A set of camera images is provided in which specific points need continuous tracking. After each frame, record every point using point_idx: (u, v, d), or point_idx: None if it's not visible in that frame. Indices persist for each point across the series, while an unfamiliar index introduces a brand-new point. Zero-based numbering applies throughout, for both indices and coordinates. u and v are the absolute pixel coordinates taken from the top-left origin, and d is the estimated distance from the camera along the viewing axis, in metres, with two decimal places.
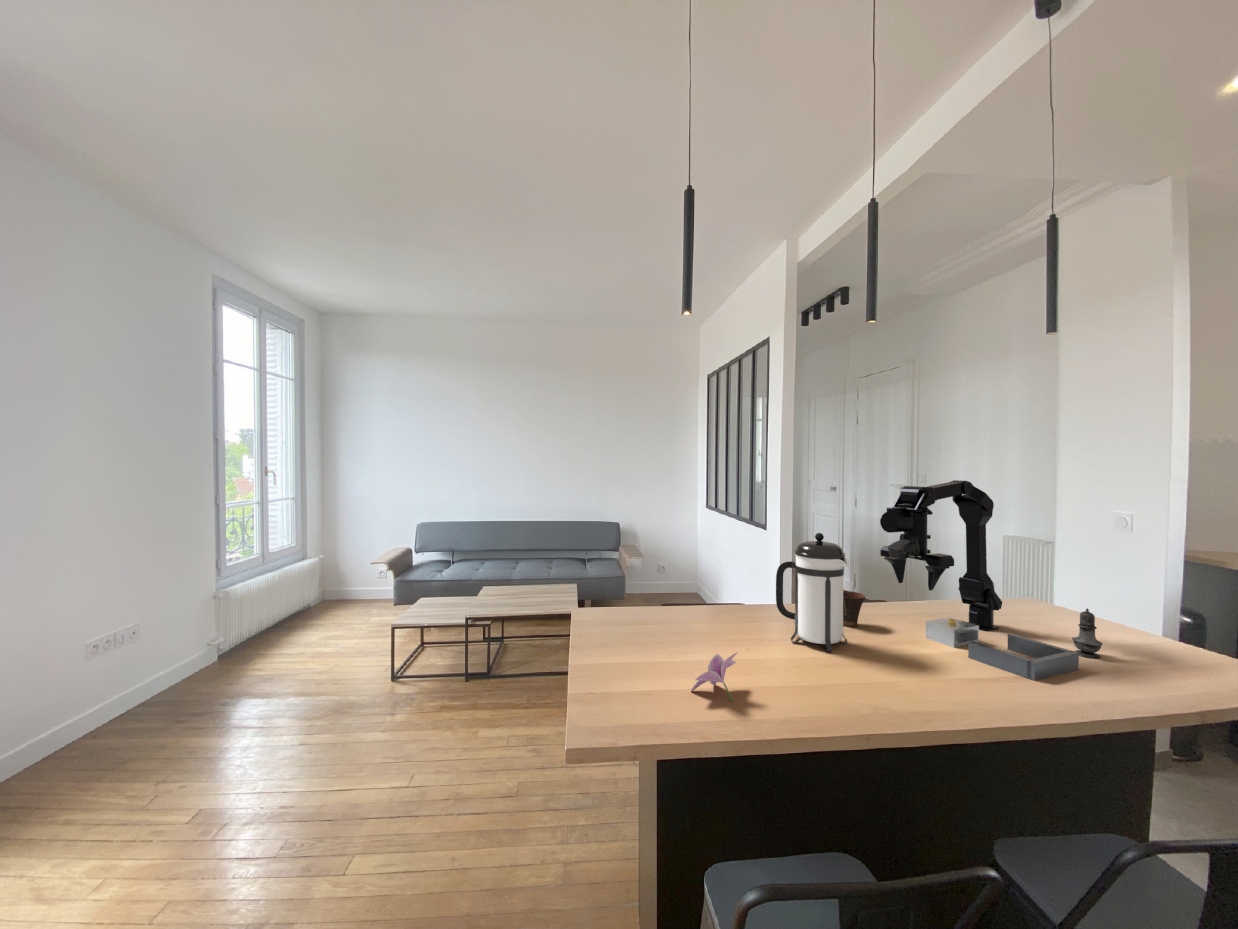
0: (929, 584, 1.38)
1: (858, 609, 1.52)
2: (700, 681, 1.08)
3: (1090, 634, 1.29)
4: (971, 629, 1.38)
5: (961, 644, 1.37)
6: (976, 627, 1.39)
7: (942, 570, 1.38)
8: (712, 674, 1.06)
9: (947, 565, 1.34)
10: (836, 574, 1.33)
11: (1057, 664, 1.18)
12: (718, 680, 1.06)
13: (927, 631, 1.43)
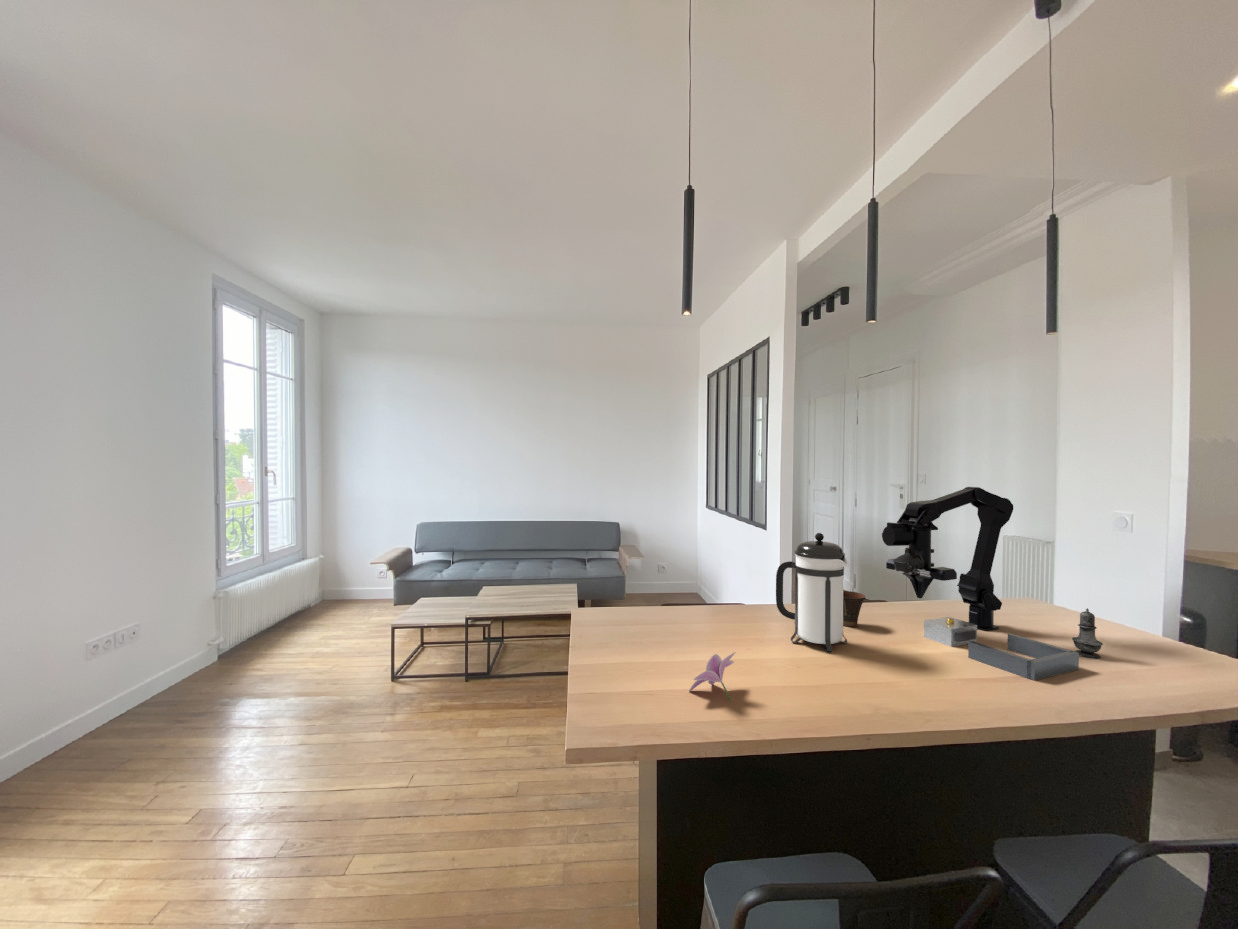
0: (919, 592, 1.50)
1: (858, 609, 1.52)
2: (699, 681, 1.08)
3: (1090, 634, 1.29)
4: (969, 628, 1.39)
5: (959, 643, 1.37)
6: (974, 626, 1.39)
7: (931, 579, 1.49)
8: (710, 674, 1.06)
9: (950, 578, 1.42)
10: (836, 574, 1.33)
11: (1057, 664, 1.18)
12: (716, 680, 1.06)
13: (925, 630, 1.43)
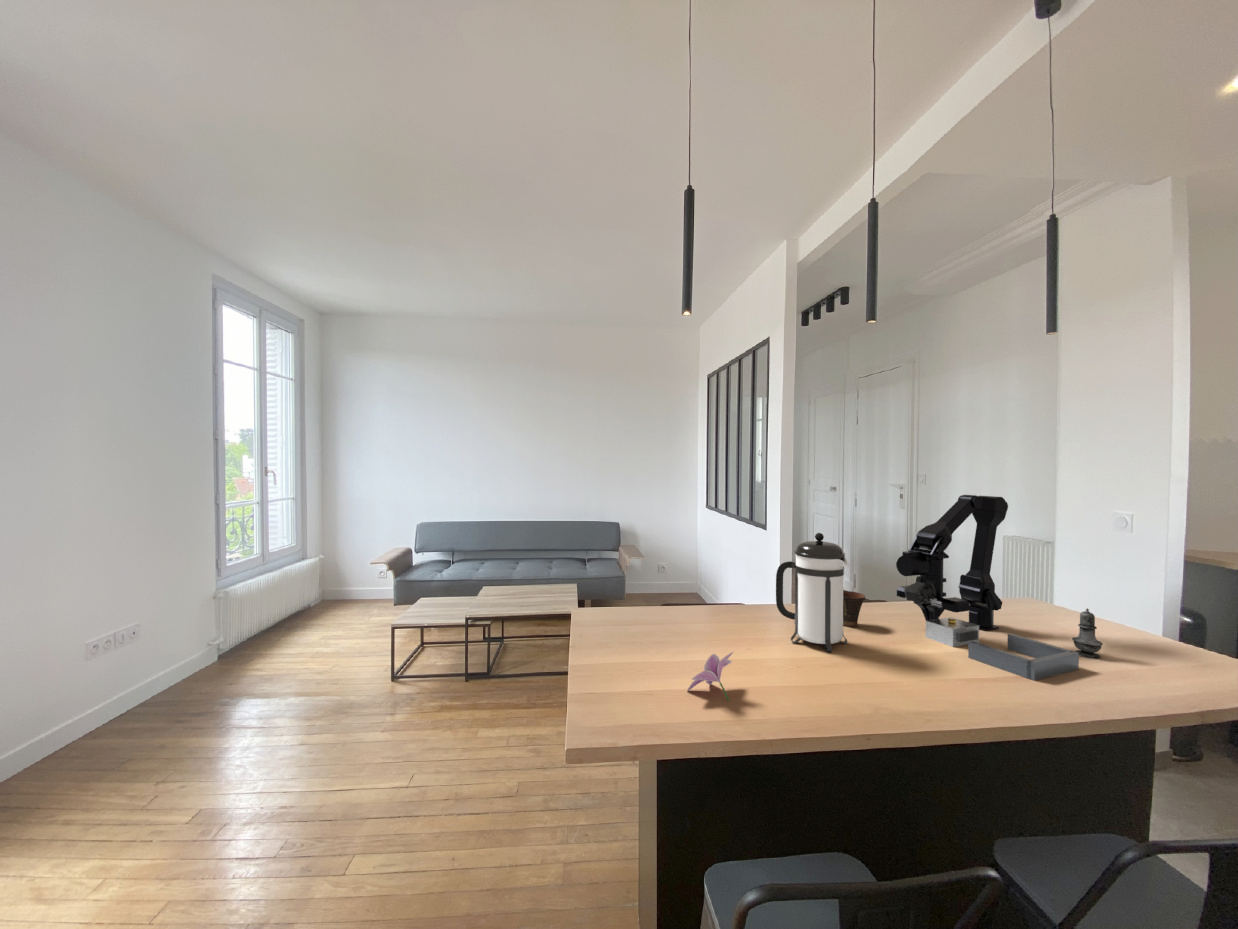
0: None
1: (858, 609, 1.52)
2: (697, 681, 1.08)
3: (1090, 634, 1.29)
4: (971, 629, 1.38)
5: (960, 644, 1.37)
6: (976, 627, 1.39)
7: (942, 609, 1.46)
8: (708, 673, 1.06)
9: (963, 610, 1.38)
10: (836, 574, 1.33)
11: (1057, 664, 1.18)
12: (714, 679, 1.06)
13: (926, 630, 1.43)
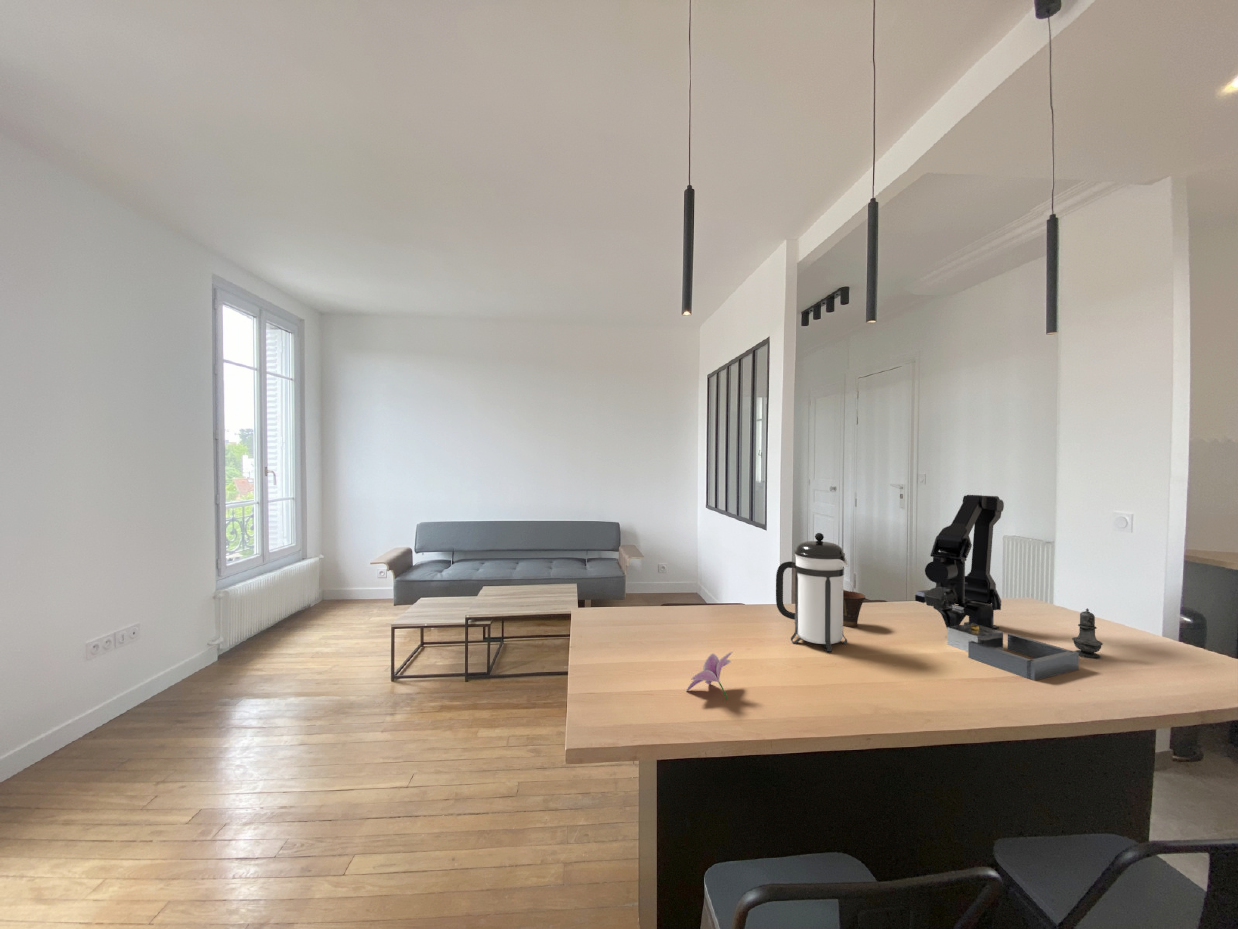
0: None
1: (858, 609, 1.52)
2: (696, 681, 1.08)
3: (1090, 634, 1.29)
4: (995, 636, 1.33)
5: None
6: (1000, 634, 1.34)
7: (964, 615, 1.40)
8: (707, 673, 1.06)
9: (986, 616, 1.32)
10: (836, 574, 1.33)
11: (1057, 664, 1.18)
12: (713, 679, 1.07)
13: (948, 637, 1.38)
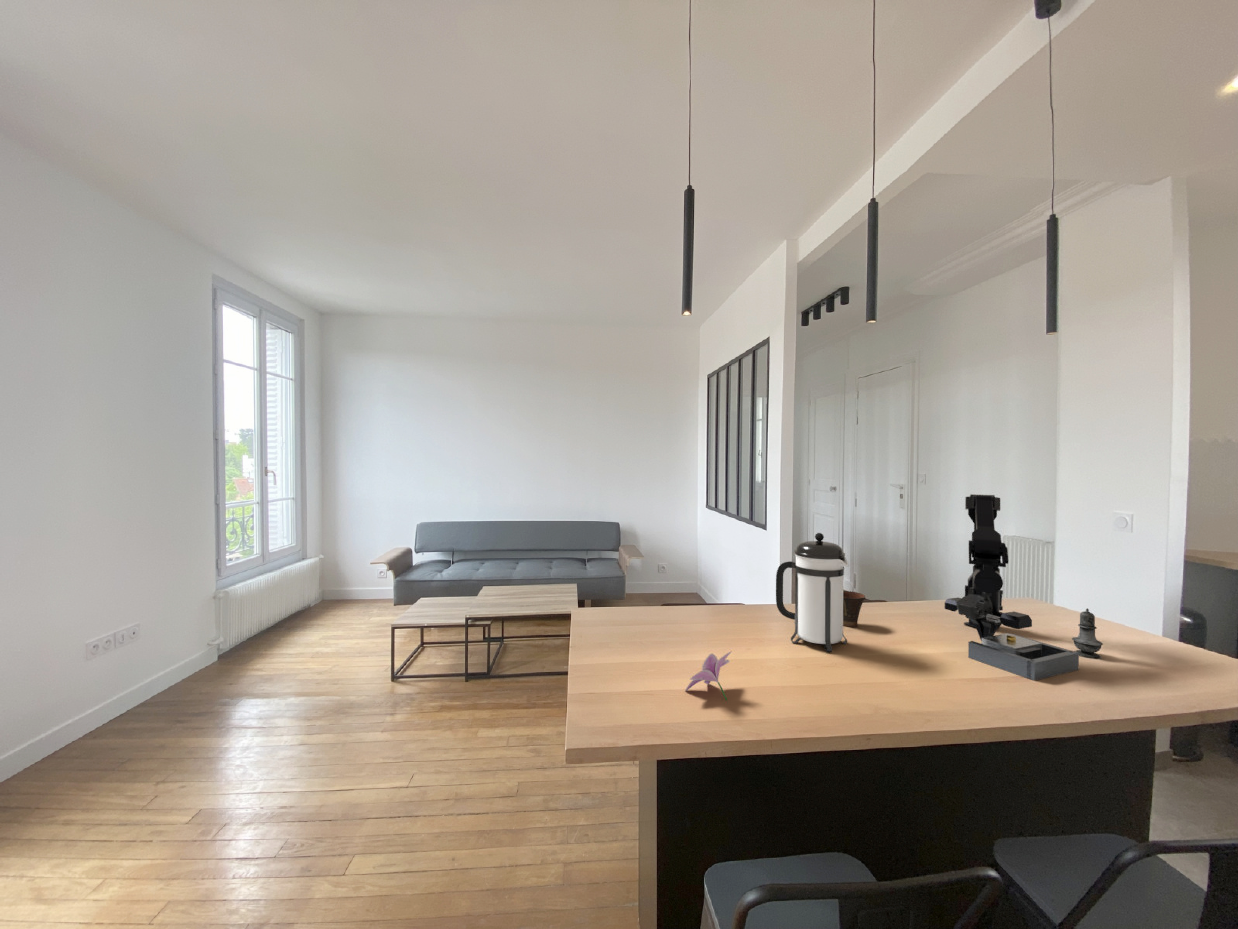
0: None
1: (858, 609, 1.52)
2: (695, 681, 1.08)
3: (1090, 634, 1.29)
4: (1034, 647, 1.25)
5: None
6: (1039, 645, 1.25)
7: (998, 625, 1.32)
8: (706, 673, 1.06)
9: (1025, 626, 1.24)
10: (836, 574, 1.33)
11: (1057, 664, 1.18)
12: (712, 679, 1.07)
13: None
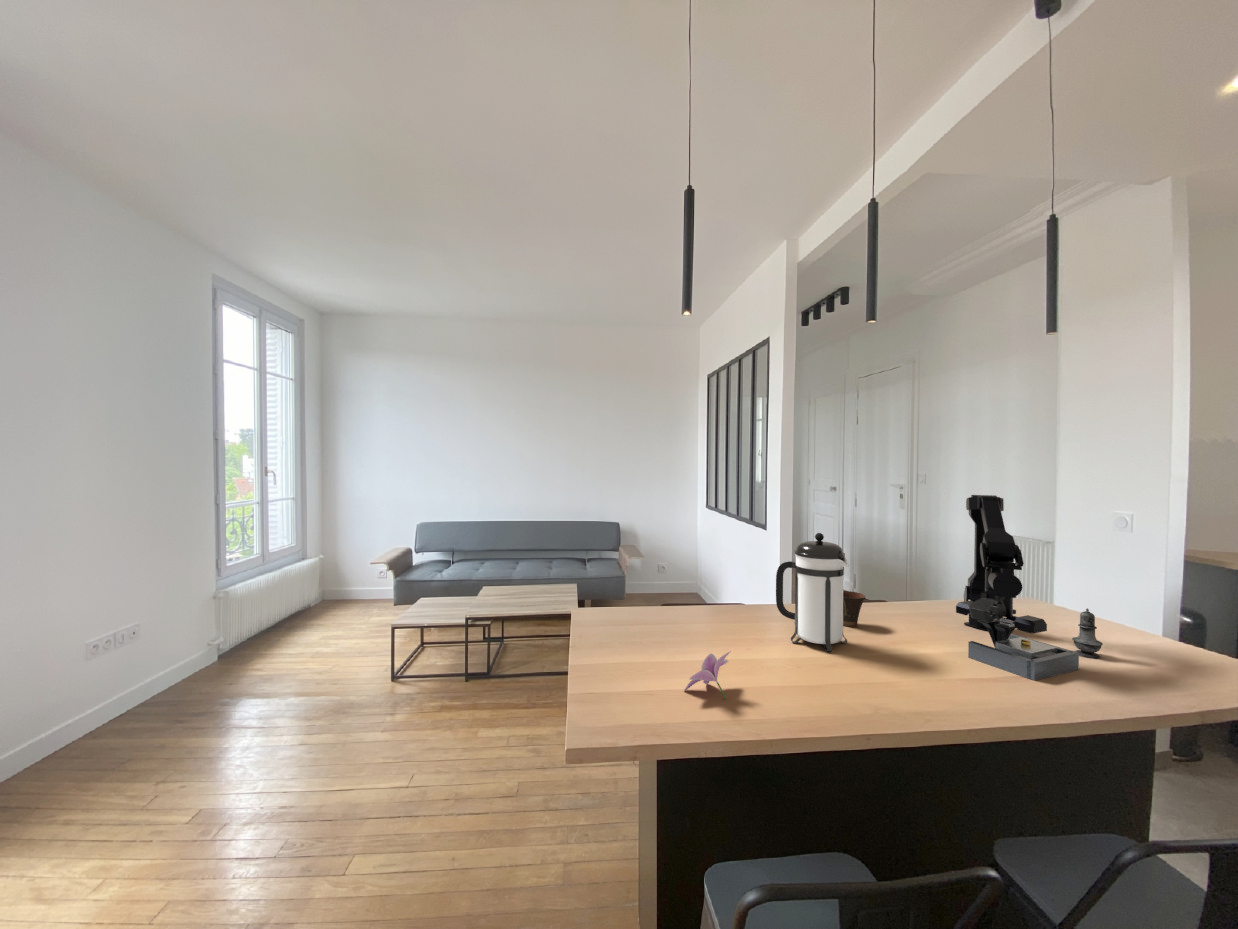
0: None
1: (858, 609, 1.52)
2: (694, 681, 1.08)
3: (1090, 634, 1.29)
4: (1049, 652, 1.22)
5: None
6: (1054, 649, 1.23)
7: (1012, 629, 1.29)
8: (705, 673, 1.06)
9: (1040, 630, 1.21)
10: (836, 574, 1.33)
11: (1057, 664, 1.18)
12: (711, 679, 1.07)
13: None
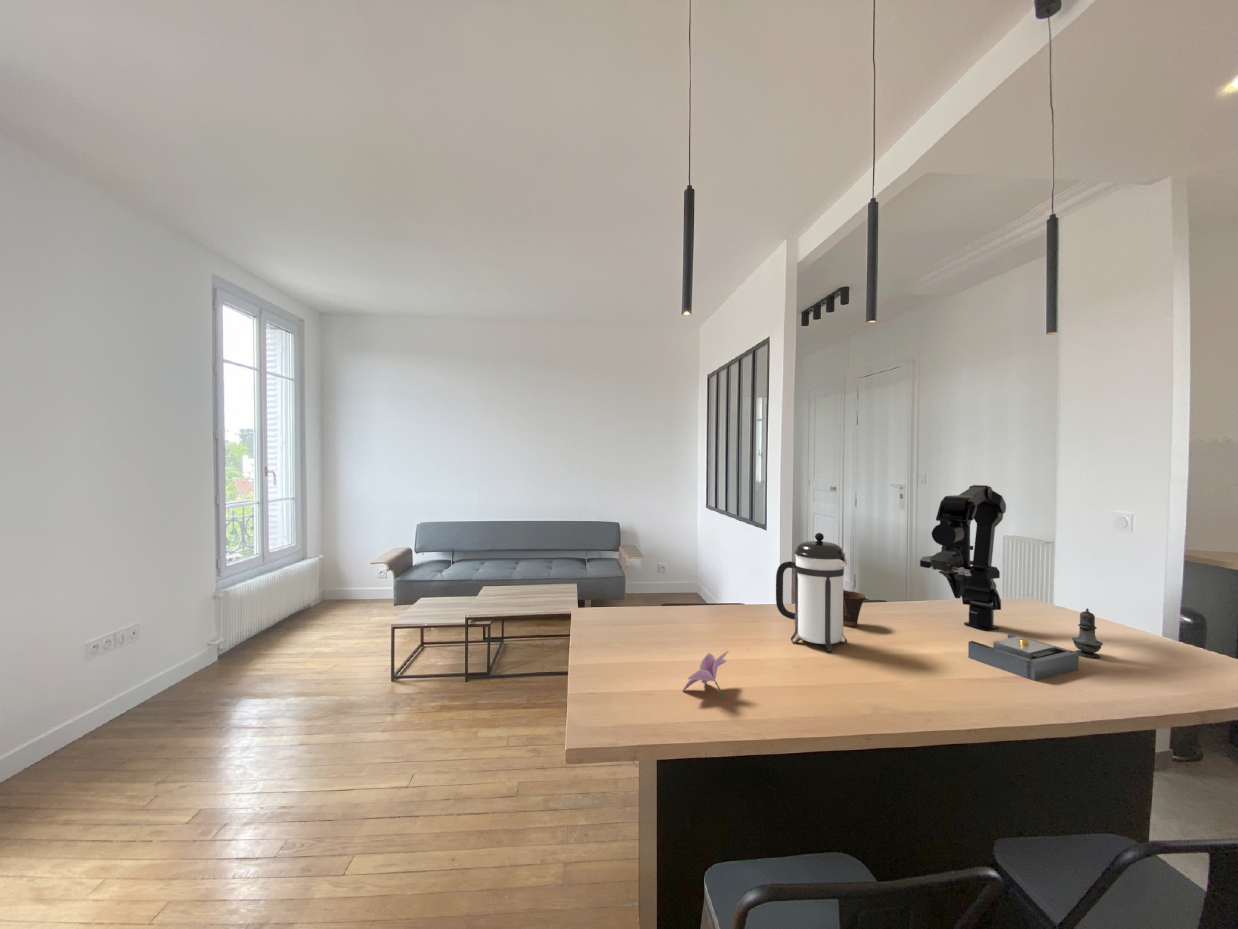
0: (957, 592, 1.40)
1: (858, 609, 1.52)
2: (692, 681, 1.08)
3: (1090, 634, 1.29)
4: (1047, 651, 1.22)
5: None
6: (1052, 649, 1.23)
7: (970, 578, 1.40)
8: (704, 673, 1.06)
9: (993, 577, 1.32)
10: (836, 574, 1.33)
11: (1057, 664, 1.18)
12: (710, 679, 1.07)
13: None
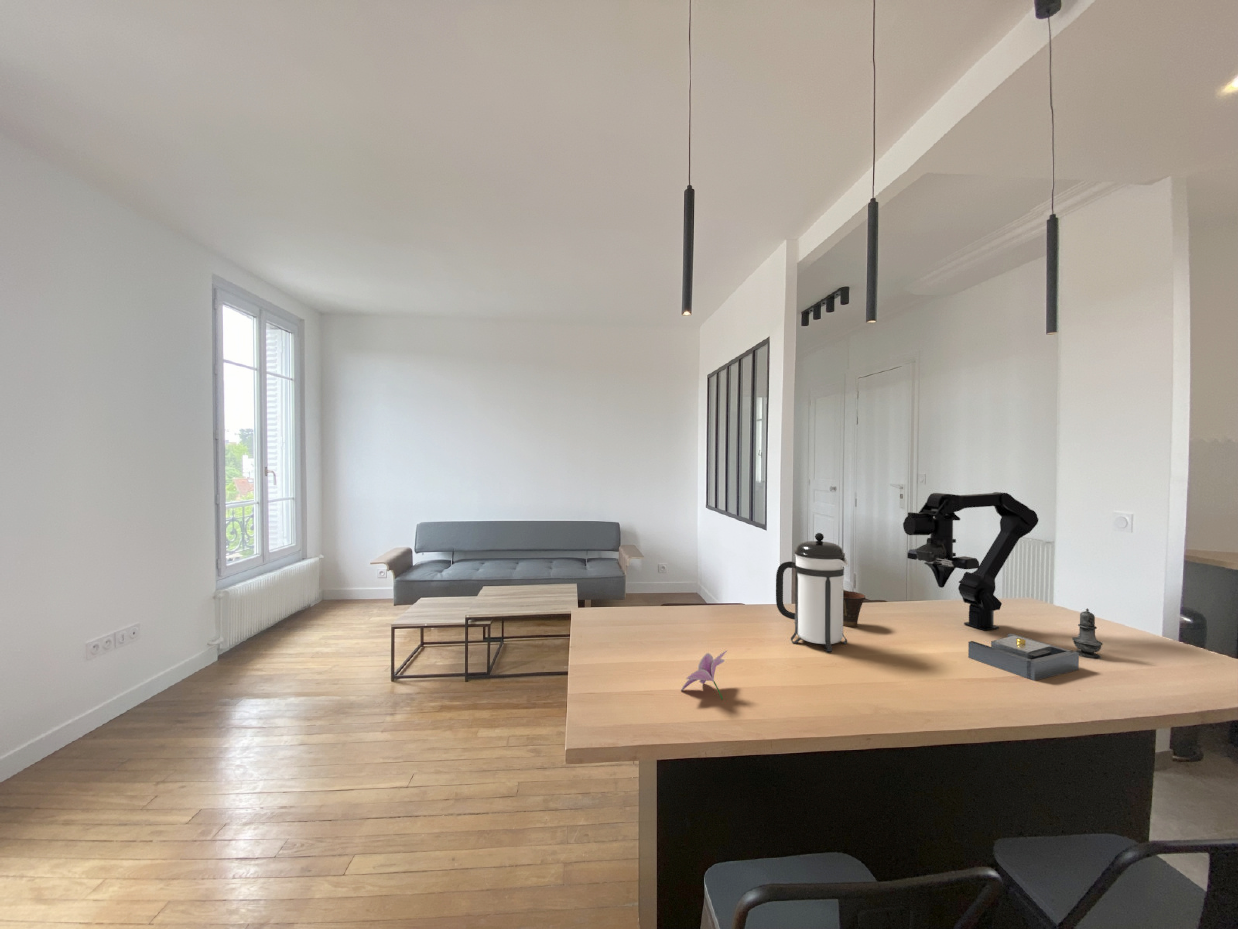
0: (940, 582, 1.52)
1: (858, 609, 1.52)
2: (691, 680, 1.08)
3: (1090, 634, 1.29)
4: (1044, 650, 1.23)
5: None
6: (1049, 648, 1.24)
7: (952, 569, 1.51)
8: (702, 673, 1.06)
9: (972, 567, 1.44)
10: (836, 574, 1.33)
11: (1057, 664, 1.18)
12: (708, 678, 1.07)
13: None
